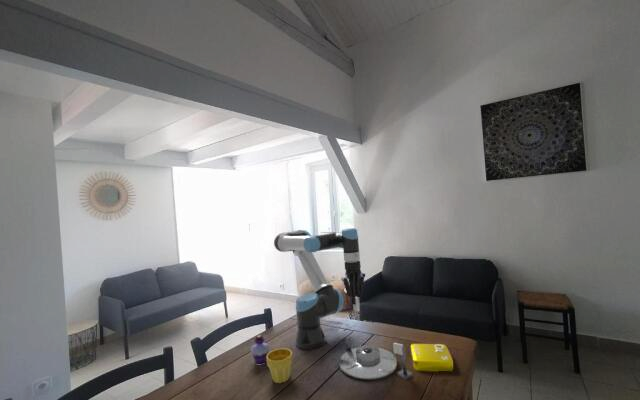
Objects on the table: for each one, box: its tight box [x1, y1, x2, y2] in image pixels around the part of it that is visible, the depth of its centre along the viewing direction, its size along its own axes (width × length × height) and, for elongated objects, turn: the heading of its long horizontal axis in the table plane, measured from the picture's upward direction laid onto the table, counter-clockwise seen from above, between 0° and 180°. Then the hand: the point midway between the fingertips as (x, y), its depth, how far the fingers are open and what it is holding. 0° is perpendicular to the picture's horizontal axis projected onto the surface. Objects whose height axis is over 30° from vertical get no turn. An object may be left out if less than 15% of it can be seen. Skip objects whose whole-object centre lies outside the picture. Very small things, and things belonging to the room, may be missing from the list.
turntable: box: [338, 336, 398, 381], centre depth 125 cm, size 27×24×6 cm
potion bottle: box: [249, 334, 270, 365], centre depth 134 cm, size 9×9×12 cm
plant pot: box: [266, 347, 293, 384], centre depth 119 cm, size 10×10×10 cm
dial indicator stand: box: [392, 342, 414, 381], centre depth 115 cm, size 5×4×12 cm
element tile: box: [410, 343, 454, 372], centre depth 122 cm, size 15×15×5 cm
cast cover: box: [356, 344, 381, 367], centre depth 124 cm, size 10×10×4 cm
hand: (356, 310), depth 140 cm, fingers closed
